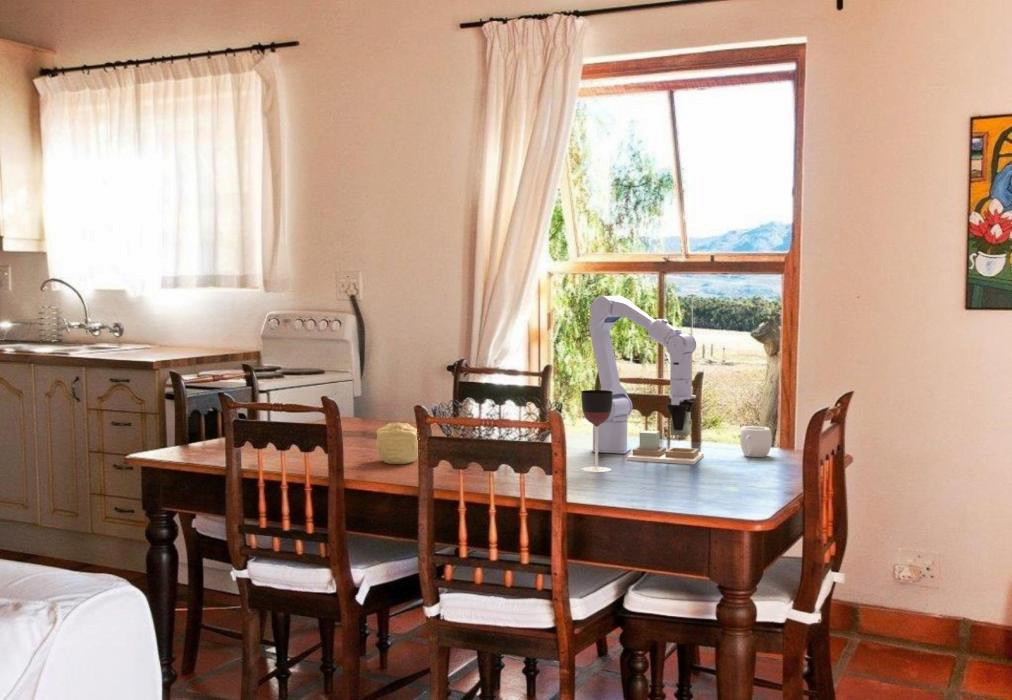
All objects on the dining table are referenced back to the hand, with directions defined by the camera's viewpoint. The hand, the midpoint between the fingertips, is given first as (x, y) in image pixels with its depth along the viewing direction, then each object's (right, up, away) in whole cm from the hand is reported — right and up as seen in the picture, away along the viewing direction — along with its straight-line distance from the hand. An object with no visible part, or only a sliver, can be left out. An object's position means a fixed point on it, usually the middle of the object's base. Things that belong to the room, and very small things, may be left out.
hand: (680, 428), depth 281 cm
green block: (0, -2, 0) cm, 2 cm away
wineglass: (-24, -10, -14) cm, 29 cm away
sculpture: (-76, -9, -4) cm, 76 cm away
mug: (+21, -8, +5) cm, 23 cm away
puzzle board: (-3, -8, +3) cm, 9 cm away
